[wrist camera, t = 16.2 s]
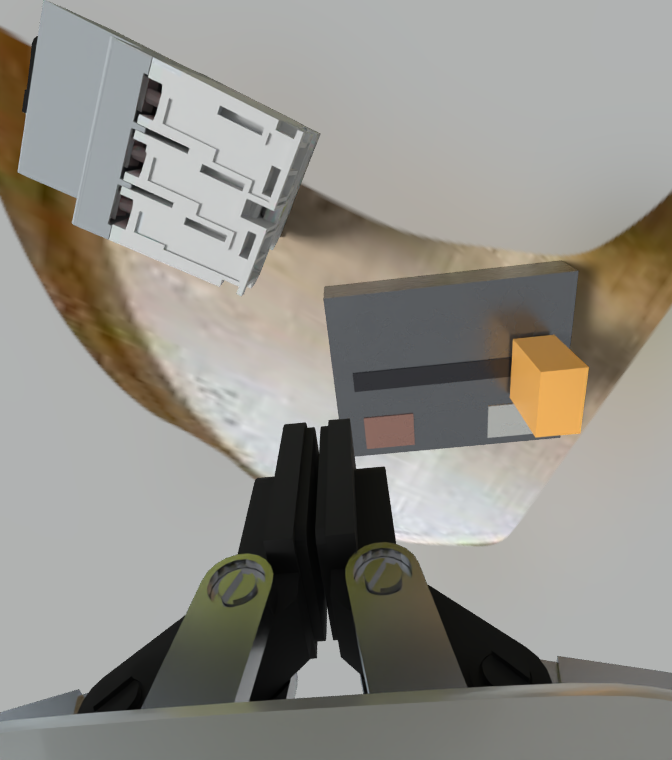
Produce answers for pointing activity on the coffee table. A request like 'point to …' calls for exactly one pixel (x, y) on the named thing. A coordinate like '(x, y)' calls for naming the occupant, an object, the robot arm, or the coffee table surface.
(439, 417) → the panel
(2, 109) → the coffee table surface
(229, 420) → the coffee table surface
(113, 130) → the circuit breaker
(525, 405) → the block
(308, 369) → the coffee table surface
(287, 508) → the robot arm
